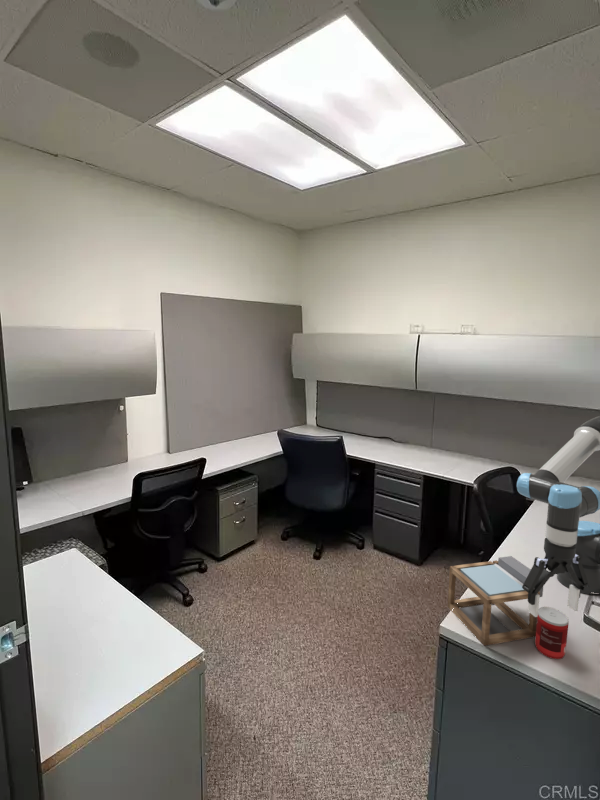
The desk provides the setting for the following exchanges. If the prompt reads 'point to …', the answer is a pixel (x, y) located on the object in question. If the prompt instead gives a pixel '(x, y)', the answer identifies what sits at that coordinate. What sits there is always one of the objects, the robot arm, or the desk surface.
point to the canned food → (551, 632)
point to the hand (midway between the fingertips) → (552, 611)
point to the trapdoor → (499, 577)
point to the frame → (487, 610)
